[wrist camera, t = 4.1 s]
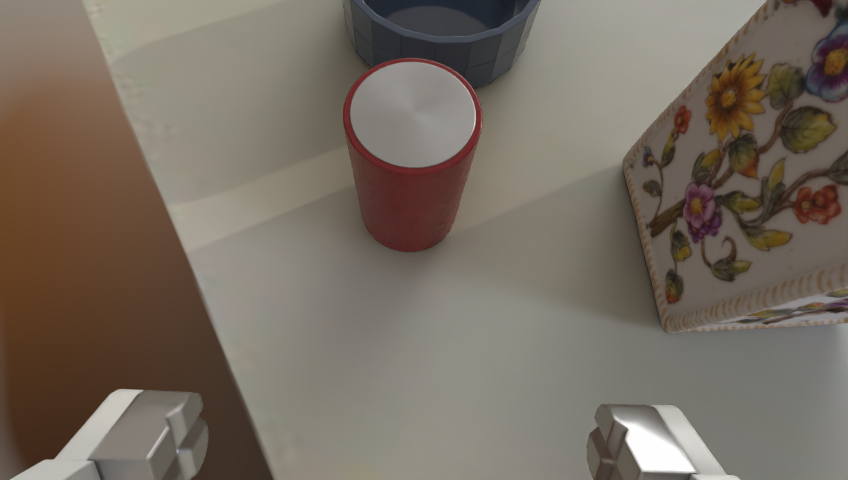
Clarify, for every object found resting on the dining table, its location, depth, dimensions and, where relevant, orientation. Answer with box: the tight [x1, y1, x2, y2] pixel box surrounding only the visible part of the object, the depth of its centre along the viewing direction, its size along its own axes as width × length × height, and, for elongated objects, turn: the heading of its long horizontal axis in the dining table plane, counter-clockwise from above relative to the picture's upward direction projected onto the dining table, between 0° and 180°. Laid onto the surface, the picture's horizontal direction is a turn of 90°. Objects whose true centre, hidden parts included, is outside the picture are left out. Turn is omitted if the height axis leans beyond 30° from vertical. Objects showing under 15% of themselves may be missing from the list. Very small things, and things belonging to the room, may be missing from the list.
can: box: [343, 58, 483, 252], centre depth 23 cm, size 6×6×10 cm
